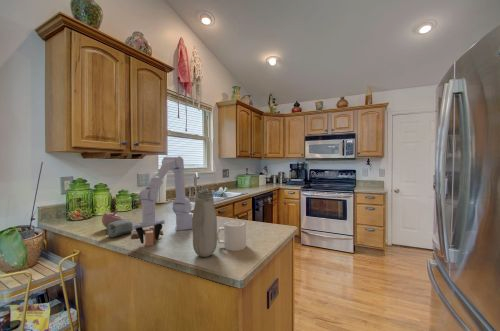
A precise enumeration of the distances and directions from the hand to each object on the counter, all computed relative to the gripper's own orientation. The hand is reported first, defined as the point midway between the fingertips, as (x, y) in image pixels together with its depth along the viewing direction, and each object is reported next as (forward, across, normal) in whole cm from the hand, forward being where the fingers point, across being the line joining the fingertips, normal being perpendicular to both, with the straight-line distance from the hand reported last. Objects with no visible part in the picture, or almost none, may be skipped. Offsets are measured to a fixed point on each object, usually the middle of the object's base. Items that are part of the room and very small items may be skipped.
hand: (149, 241), depth 115 cm
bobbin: (+1, -6, -6) cm, 9 cm away
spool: (+2, +6, -27) cm, 28 cm away
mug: (+2, -27, +31) cm, 41 cm away
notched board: (+1, -5, -16) cm, 17 cm away
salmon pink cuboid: (+2, 0, 0) cm, 2 cm away
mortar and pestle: (+2, +6, -42) cm, 43 cm away
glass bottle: (+2, -12, +31) cm, 33 cm away
